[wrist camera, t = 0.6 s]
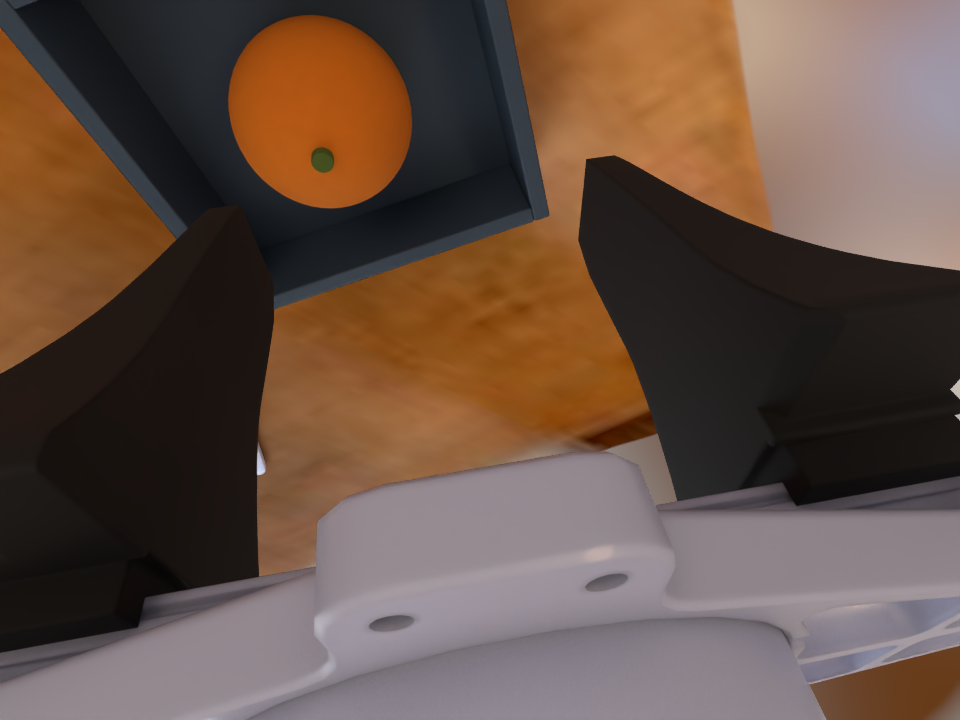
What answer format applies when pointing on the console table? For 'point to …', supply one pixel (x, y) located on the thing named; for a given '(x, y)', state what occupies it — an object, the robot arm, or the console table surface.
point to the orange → (320, 111)
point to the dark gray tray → (222, 166)
